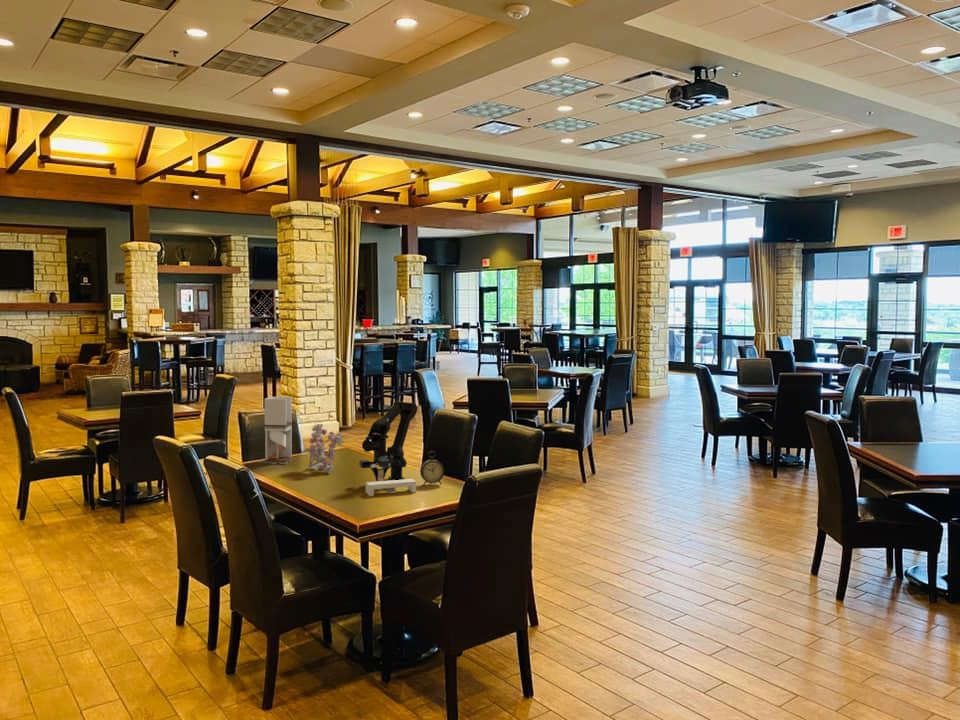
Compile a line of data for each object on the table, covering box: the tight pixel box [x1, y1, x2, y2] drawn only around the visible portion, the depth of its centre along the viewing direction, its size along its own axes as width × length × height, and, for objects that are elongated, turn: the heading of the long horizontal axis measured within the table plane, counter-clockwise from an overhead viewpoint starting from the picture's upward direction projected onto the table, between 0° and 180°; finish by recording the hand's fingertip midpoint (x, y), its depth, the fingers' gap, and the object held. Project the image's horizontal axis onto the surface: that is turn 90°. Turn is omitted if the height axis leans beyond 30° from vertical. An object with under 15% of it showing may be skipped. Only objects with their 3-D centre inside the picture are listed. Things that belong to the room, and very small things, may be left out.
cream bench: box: [365, 478, 417, 497], centre depth 338 cm, size 6×22×5 cm, turn 114°
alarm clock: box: [419, 450, 445, 486], centre depth 356 cm, size 11×5×16 cm, turn 105°
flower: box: [300, 422, 345, 474], centre depth 381 cm, size 20×22×25 cm
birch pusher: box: [375, 467, 395, 491], centre depth 351 cm, size 14×8×7 cm, turn 24°
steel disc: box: [385, 489, 397, 494], centre depth 339 cm, size 4×4×1 cm
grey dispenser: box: [264, 396, 293, 464], centre depth 401 cm, size 11×11×35 cm
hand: (379, 480), depth 355 cm, fingers closed on birch pusher, 2 cm apart
